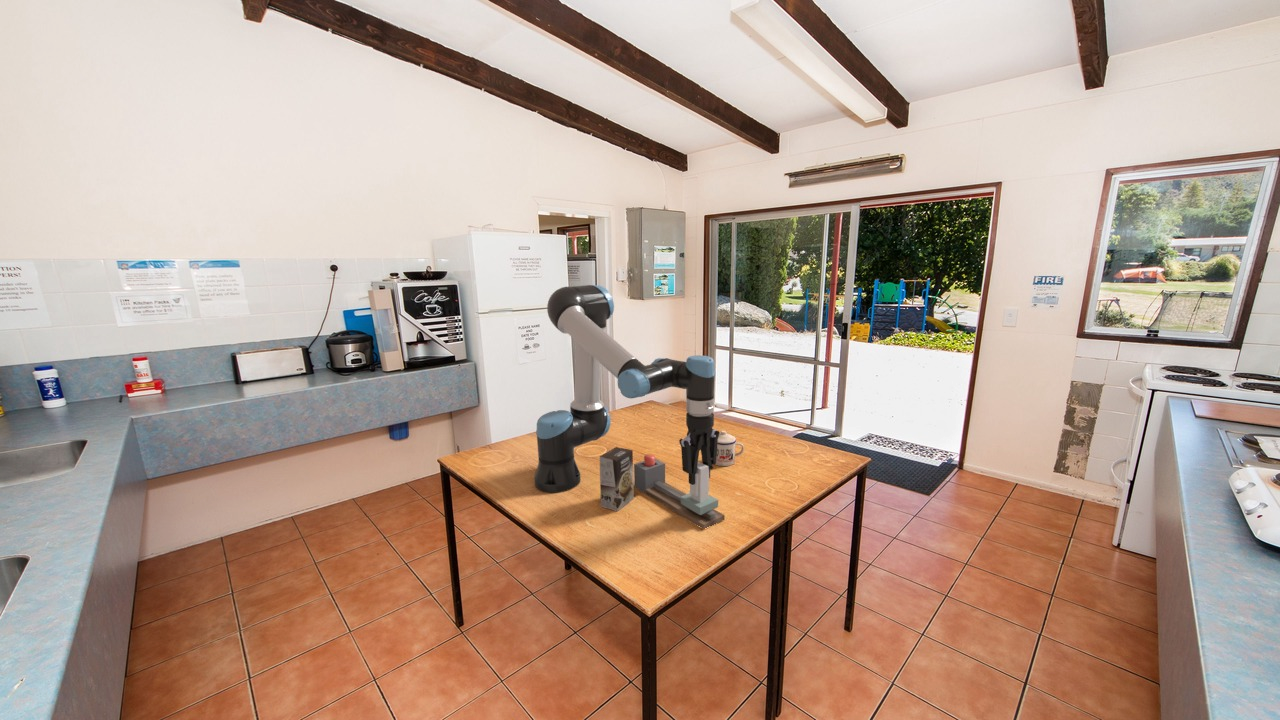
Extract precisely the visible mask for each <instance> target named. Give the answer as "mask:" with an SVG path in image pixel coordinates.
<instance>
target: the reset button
mask: <svg viewBox="0 0 1280 720" xmlns="http://www.w3.org/2000/svg"><path fill="white" fill-rule="evenodd" d="M643 457H644V458H643V461H644V465H645V466H647V467H648V468H649V467H652V466H654V465H655V459H656V455H654V454H650V453H649V454H645V455H643Z"/></svg>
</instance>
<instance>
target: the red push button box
mask: <svg viewBox="0 0 1280 720" xmlns="http://www.w3.org/2000/svg"><path fill="white" fill-rule="evenodd" d="M658 481H660V482H661V483H665V482H666V463H665V462H663V461H661V460H659V459H657V458H655V465H654V466H652V467H649V468H648V467H647V466H645V465H644V460H643V461H639V462H637V463H633V484H634V488H635V489H637V490H639V491H641V492H642V493H644V494H645V495H647V494H646V489H649V488H651V487H654V483H655V482H658Z"/></svg>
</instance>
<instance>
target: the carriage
mask: <svg viewBox="0 0 1280 720" xmlns="http://www.w3.org/2000/svg"><path fill="white" fill-rule="evenodd" d="M697 473H699V495H698V496H696V495H694V494H692V493H690V492H688V493H685V494H686V495H684V496H681V504H682V505H684V506H685V507H687V508H689V509H691V510H692V511H694V512H696V513H697V514H699V515H702V514H704V513H706V512H708V511H711V510H713V509H714V510H716V509H717V508H719V499H718V498H716V497H714V496H711V495H710V494H709V491H708V473H709V466H707V465H705V464H703V463H702V462H700V461H698V464H697Z"/></svg>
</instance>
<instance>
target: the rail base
mask: <svg viewBox="0 0 1280 720" xmlns="http://www.w3.org/2000/svg"><path fill="white" fill-rule="evenodd" d="M686 494H687V493H685V492H684V491H682V490H680V489H678V488H677V487H674V486H673V485H671V484H669V483H667V481H665V483H661V482H660V481H658V482H655V483H654V487H651V488H649V489H646V494H645V495H647V496H648V497H650V498H651V499H653V500H655V501H656V502H658V503H660V504H662V505H663V506H665V507H666V508H668V510H669V509H670V510H671V511H673V512H674V513H676V514H677V515H679V516H681V517H682V518H684V519H685V518H686V520H687V521H689V522H690V521H691V522H690V523H692V524H693V525H695V524H696V525H695V526H697V525H698V526H700V527H702V528H703V529H705V528H707V527H709V526H711V527H713V526H715V525H717V524H719V523H721V522H720V521H722V520H724V521H725V514H723V513H721V512H720V511H718V510H716V509H713V510H711V511H708V512H706V513H704V514H702V515H699V514H697V513H696V512H694V511H692V510H691V509H689V508H687V507H685V506H684V505H682V504H681V496H684V495H686ZM718 522H719V523H718ZM722 522H723V521H722ZM716 523H717V524H716ZM714 524H715V525H714ZM712 525H713V526H712ZM698 526H697V527H698ZM700 527H699V528H700ZM702 528H701V529H702ZM709 528H710V527H709ZM703 529H702V530H703ZM707 529H708V528H707ZM705 530H706V529H705Z"/></svg>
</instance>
